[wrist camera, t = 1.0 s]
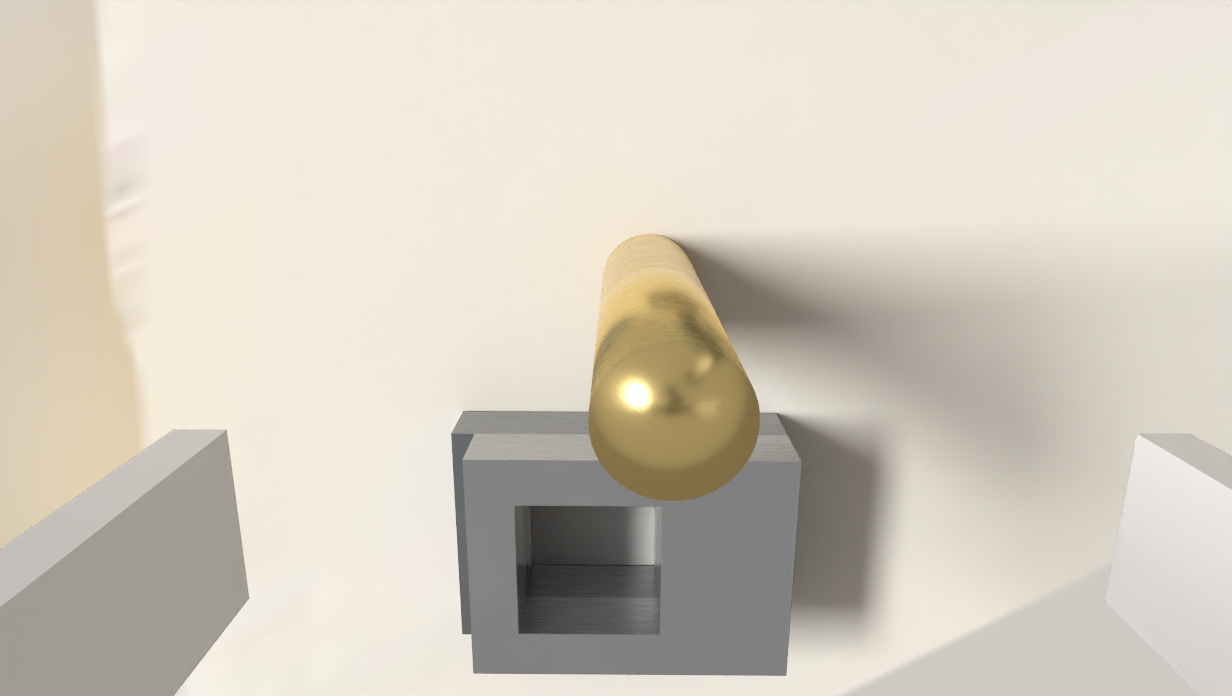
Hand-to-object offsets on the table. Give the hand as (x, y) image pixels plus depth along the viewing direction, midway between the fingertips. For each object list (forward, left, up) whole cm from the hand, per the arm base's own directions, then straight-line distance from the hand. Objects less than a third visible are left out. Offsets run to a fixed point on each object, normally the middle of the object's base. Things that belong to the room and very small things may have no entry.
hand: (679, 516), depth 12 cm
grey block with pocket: (+1, +9, -17) cm, 19 cm away
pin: (0, 0, -17) cm, 17 cm away
